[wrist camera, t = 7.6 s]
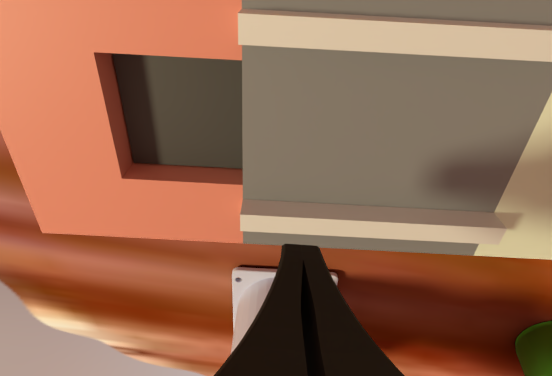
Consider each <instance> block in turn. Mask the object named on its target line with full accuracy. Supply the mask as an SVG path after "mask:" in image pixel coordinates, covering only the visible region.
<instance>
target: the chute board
mask: <svg viewBox="0 0 552 376" xmlns="http://www.w3.org/2000/svg"><path fill="white" fill-rule="evenodd" d="M0 130H1V133H2V135H3V138H4V140H5V143H6V145H7V148H8V150H9V153H10V155H11V157H12V160H13V162H14V165H15V167H16V170H17V172H18V175H19V177H20V180H21V182H22V184H23V187H24V189H25V192H26V194H27V197H28V199H29V202H30V204H31V206H32V209H33V211H34V214H35V216H36V219H37V221H38V224H39V226H40V229H41V231H42V233H56V234H75V235H94V236H113V237H132V238H151V239H170V240H189V241H208V242H227V243H246V244H265V245H284V244H299V245H313V246H318V247H322V248H341V249H360V250H379V251H398V252H417V253H436V254H455V255H474V256H493V257H512V258H531V259H550V260H552V0H0Z"/></svg>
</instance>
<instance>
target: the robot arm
mask: <svg viewBox="0 0 552 376" xmlns="http://www.w3.org/2000/svg"><path fill="white" fill-rule="evenodd" d="M238 277H239V278H238ZM337 283H338V275H337V274H336V273H334V272H329V270H328V268H327V266H326V263H325V261H324V259H323V256H322V254H321V251H320V248H319V247H318V246H313V245H299V244H284V245H282V251H281V259H280V262H279V266H278V269H265V268H246V267H236V268H234V269H233V271H232V294H233V327H234V335H233V342H232V349H231V355H230V356H229V357H228V359H227V360H226V361H225V363H224V364H223V365H222V367H221V368H220V369H219V370H218V371H217V372H216V374H215V375H214V376H404V375H403V374H402V373H401V372H400V371H399V370H398V368H397V367H396V366H395V365H394V364H393V363H392V362H391V361H390V360H389V358H388V357H387V356H386V355H385V354H384V353H383V352H382V350H381V349H380V348H379V347H378V346H377V345H376V344H375V342H374V341H373V340H372V338H371V337H370V336H369V335H368V333H367V332H366V331H365V329H364V328H363V327H362V325H361V324H360V323H359V321H358V320H357V318H356V317H355V315H354V314H353V312H352V311H351V309H350V308H349V306H348V304H347V303H346V301H345V300H344V298H343V296H342V295H341V293H340V291H339V289H338V287H337Z"/></svg>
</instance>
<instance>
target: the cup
mask: <svg viewBox="0 0 552 376" xmlns="http://www.w3.org/2000/svg"><path fill="white" fill-rule="evenodd" d="M515 346H516V348H515V349H516V354H517V356H518V359H519V362H520V364H521V367H522V369H523V372H524V374H525V376H552V321H548V322H543V323H539V324H536V325H533V326H531V327H529V328H527V329H526V330H524V331H523V332H522V333H521V334H519V336H518V337H517V338H516V341H515Z"/></svg>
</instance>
